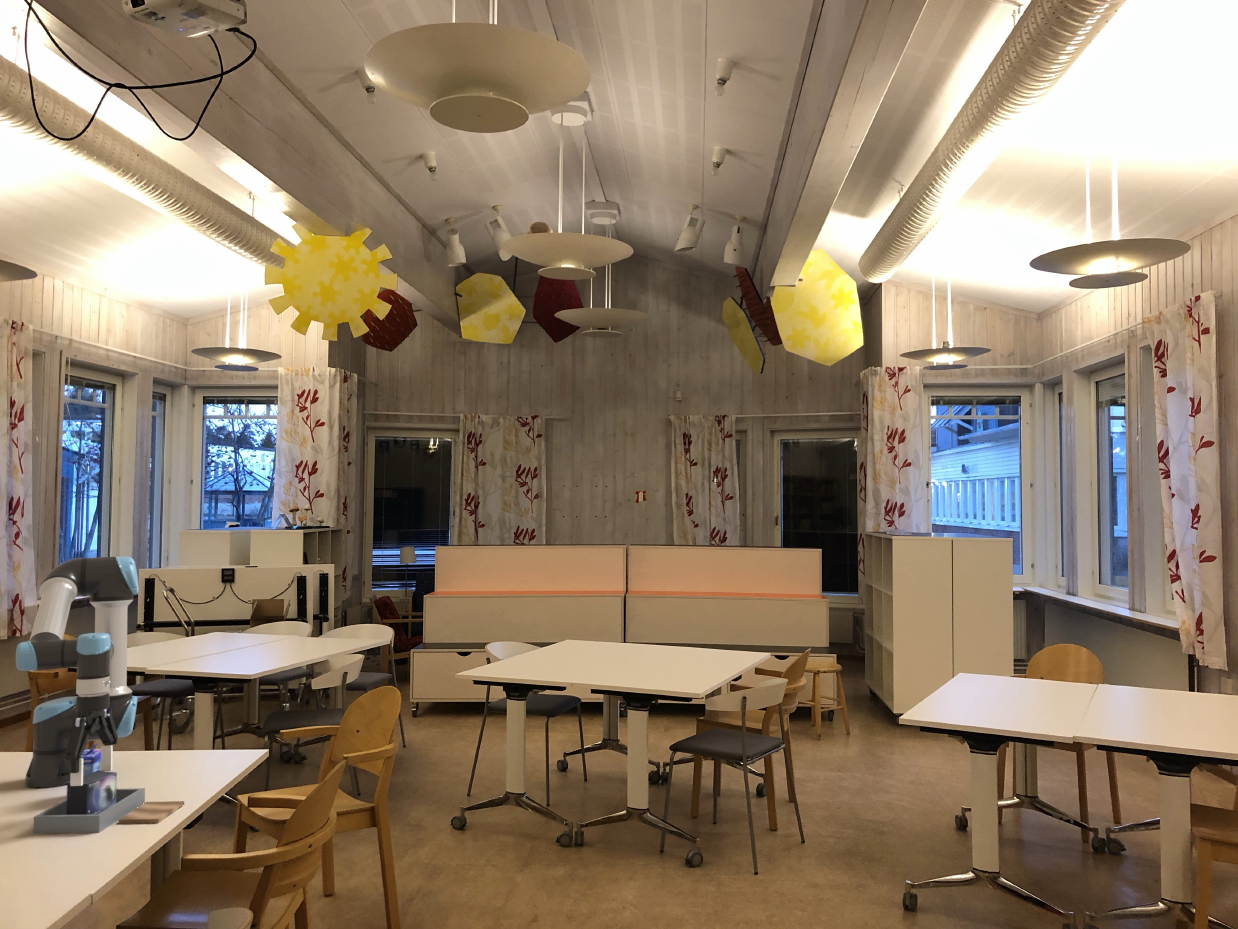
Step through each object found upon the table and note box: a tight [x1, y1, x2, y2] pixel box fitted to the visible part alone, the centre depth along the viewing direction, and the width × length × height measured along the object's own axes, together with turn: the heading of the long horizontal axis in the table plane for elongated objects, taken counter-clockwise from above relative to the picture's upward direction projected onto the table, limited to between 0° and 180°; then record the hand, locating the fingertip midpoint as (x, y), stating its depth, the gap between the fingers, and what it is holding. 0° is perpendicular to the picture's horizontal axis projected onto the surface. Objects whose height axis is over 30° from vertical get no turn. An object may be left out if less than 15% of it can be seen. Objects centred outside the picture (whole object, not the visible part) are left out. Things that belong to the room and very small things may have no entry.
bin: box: [33, 787, 146, 834], centre depth 236 cm, size 22×16×4 cm
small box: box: [66, 771, 118, 815], centre depth 236 cm, size 11×6×10 cm, turn 168°
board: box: [118, 800, 185, 825], centre depth 238 cm, size 14×10×1 cm
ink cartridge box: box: [81, 742, 101, 776], centre depth 253 cm, size 10×6×14 cm, turn 13°
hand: (92, 778), depth 236 cm, fingers open, 13 cm apart
